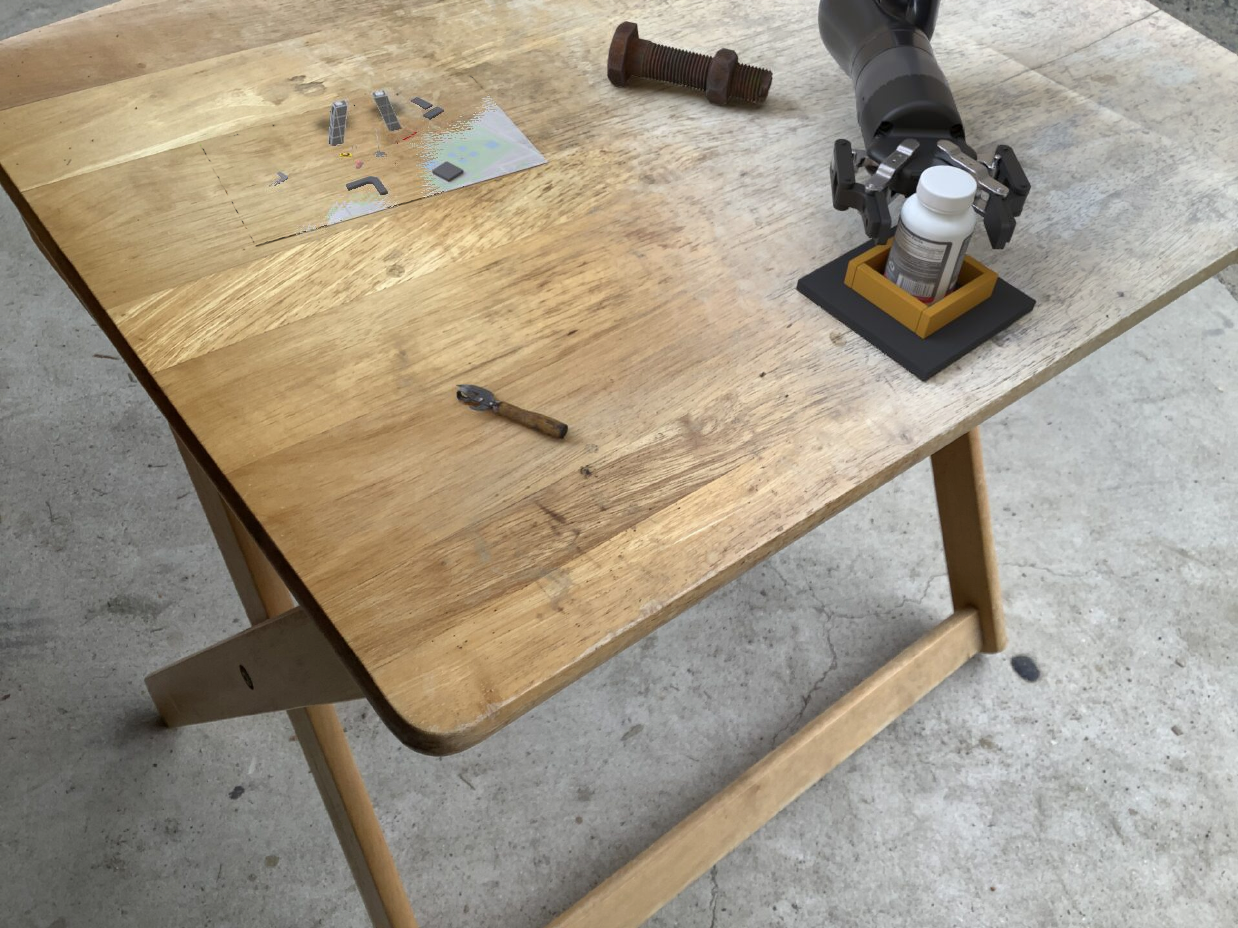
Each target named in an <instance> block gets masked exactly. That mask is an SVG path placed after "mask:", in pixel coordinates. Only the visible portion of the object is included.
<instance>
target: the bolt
mask: <svg viewBox="0 0 1238 928" xmlns="http://www.w3.org/2000/svg"><path fill="white" fill-rule="evenodd" d="M638 26H639V25H638V23H636V22H632V21H628V20H625V21H622V22H621V23H620V24H618V25H617V26H616V28H615V31H614V33H613V36H612V37H611V38H612V39H611V42H610V45H609V49H608V54H607V63H606V76H607V79H608V81H609V82H610V83H611V85H612V86H615V87H619V88H623V89H624V88H625V87H626V85H627V83H628V82H629V80H630V79H631V77H635V78H640V79H649V80H652V81H657V82H663V83H664V82H665V83H669V84H672V85H676V86H678V85H679V87H681V86H682V87H685V86H686V88H689V89H693V90H697V91H699V90H700V92H702V91H703V92H704V93H705V97H706V99H707V101H708V102H709V104H710V105H711V104H712V105H716V106H720V107H723V105H725V104H727V103H728V102H729V100H730V98H731V99H733V98H734V99H738V100H739V101H740V100H741V101H745V102H747V101H748V102H749V103H752V104H754V103H755V104H759V105H761V103H762V104H763V103H765V102H766V100H767V98H768V96H769V92H770V90H771V86H772V83H773V75H774V73H773V71H772V70H771V69H768V68H764V67H761V66H760V67H758V66H757V65H756V66H755V65H751V64H748V65H747V63H745V64H744V63H743V62H742V63H740V62H739V55H738V54H737V52H736V50H734V49H731V48H725V47H722V48H720V49H718V50H717V51H716V53H715V55H714V56H712V55H709V54H707V55H706V54H705V53H704V54H702V53H701V52H700V53H698V52H695V51H691V50H687V49H681V48H678V47H674V46H670V45H668V46H667V45H664V44H661V43H657V42H653V41H652V40H649V39H644V38H641V37H640V35H639V27H638Z"/></svg>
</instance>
